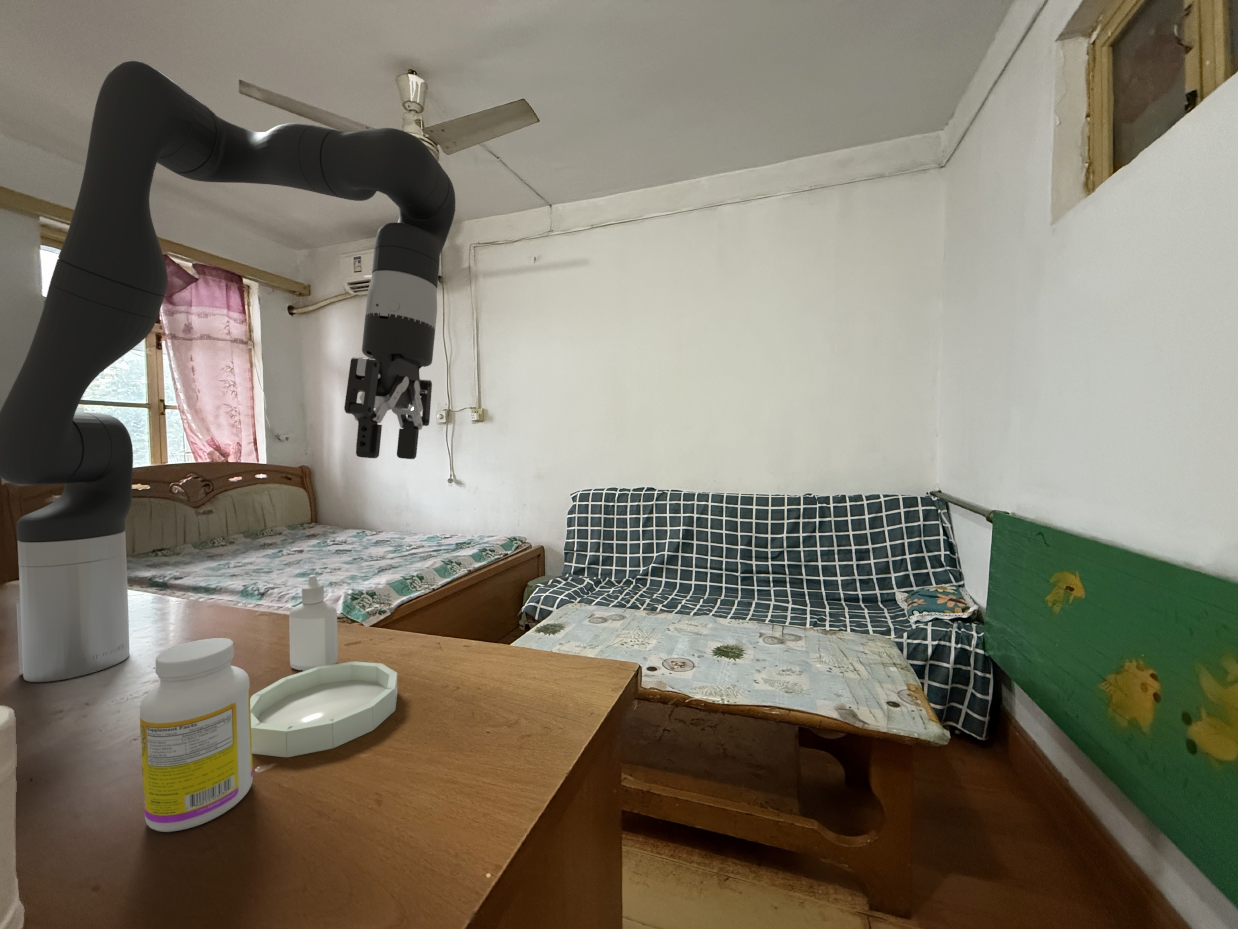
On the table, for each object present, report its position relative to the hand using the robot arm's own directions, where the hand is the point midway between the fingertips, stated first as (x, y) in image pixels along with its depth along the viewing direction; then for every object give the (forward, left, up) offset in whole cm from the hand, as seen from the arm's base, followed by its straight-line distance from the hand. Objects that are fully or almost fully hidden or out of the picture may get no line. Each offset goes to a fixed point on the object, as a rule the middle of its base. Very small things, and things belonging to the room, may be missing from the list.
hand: (388, 458), depth 56 cm
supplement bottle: (-4, -19, -28) cm, 34 cm away
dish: (-4, -6, -28) cm, 28 cm away
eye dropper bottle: (-14, +4, -28) cm, 31 cm away
